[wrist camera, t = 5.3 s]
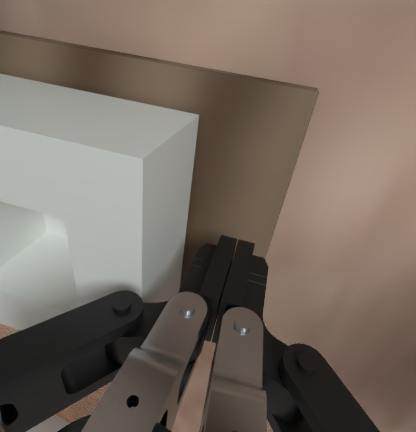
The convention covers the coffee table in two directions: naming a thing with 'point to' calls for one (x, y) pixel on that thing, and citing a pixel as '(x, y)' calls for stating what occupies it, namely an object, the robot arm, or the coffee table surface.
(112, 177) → the socket
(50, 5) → the coffee table surface
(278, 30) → the coffee table surface
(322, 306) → the coffee table surface
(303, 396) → the robot arm
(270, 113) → the jig
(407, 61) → the coffee table surface
